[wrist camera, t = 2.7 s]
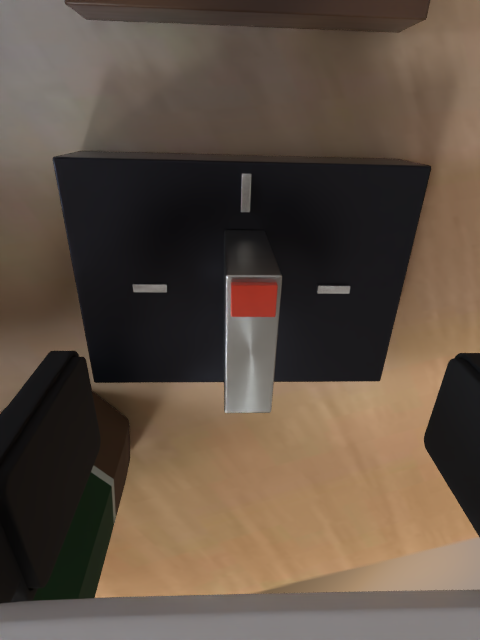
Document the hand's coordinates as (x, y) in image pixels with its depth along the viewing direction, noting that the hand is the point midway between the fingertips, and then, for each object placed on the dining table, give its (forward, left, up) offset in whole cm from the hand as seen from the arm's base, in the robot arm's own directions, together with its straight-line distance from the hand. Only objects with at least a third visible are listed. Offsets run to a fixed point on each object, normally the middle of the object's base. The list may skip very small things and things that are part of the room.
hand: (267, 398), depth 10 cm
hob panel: (0, 0, -10) cm, 10 cm away
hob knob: (0, 0, -7) cm, 7 cm away
